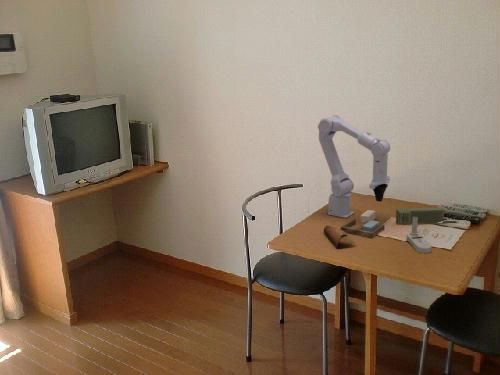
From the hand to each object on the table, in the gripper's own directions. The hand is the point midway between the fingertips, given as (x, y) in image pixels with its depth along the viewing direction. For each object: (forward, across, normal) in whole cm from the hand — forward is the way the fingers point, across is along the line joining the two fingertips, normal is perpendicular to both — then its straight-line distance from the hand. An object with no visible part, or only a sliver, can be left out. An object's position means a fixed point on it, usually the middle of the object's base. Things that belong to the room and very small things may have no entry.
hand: (379, 200), depth 229 cm
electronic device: (+10, -15, -24) cm, 30 cm away
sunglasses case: (+10, -26, +4) cm, 28 cm away
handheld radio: (+10, +9, -17) cm, 22 cm away
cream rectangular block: (+10, -1, +4) cm, 11 cm away
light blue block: (+10, -12, -2) cm, 15 cm away
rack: (+9, -12, +1) cm, 15 cm away
